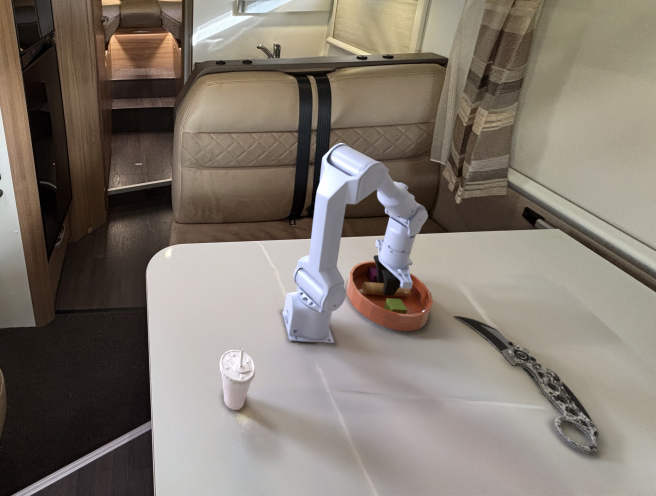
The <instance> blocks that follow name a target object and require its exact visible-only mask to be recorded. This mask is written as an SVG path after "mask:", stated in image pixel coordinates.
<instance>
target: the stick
mask: <svg viewBox="0 0 656 496" xmlns="http://www.w3.org/2000/svg"><path fill="white" fill-rule="evenodd" d="M383 286H384V283H372V282H363V284H362V289H363V292H364V294H368V295H384V293H383ZM384 296H389V295H384ZM393 296H400V297H409V296H410V289H403V288H401V287H400V288H399V289H398V290H397V291H396V293H395V294H394V295H393Z"/></svg>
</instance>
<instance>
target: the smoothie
mask: <svg viewBox="0 0 656 496" xmlns="http://www.w3.org/2000/svg"><path fill="white" fill-rule="evenodd" d="M219 371H220V373H221V380H222V391H223V401H224V404H225V406H226V407H228V409H230V410H232V411H239V410H242V408H243V407H244V404H245V401H246V398H247V395H248V392H249V389H250V385H251V383H252V381H253V380H254V379H255V377H256V376H255V375H256V365H255V362H254V360H253V359H252V357H251V356H250V355H249V354H247V353H246V352H245V349H244V348H243V347H241V348H240V350H239V349H229V350H227V351H226V352H224V353H223V354H222V355H221V357H220V361H219Z"/></svg>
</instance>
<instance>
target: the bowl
mask: <svg viewBox="0 0 656 496" xmlns="http://www.w3.org/2000/svg"><path fill="white" fill-rule="evenodd" d="M369 267H376V264H375V261H374V260H366V261H361V262H358V263H357V264H354V265H353V267H352V268H351V270H350V272H349V274H348V279H347V283H346V296H347V297H348V300H349V301H350V303H351V305H352V306H353V307H354V308H355V310H357V312H359V313H360V314H361V315H362V316H364V317H365V318H367V319H368V320H369V321H371V322H372V323H375V324H377V325H379V326H381V327H383V328H385V329H389V330H393V331H400V332H413V331H417V330H420V329H421V328H422V327H424V326H425V325H426V324H427V321H428V319H429V316H430V313H431V309H432V306H433V303H434V300H433V297H432V293H431V292H430V290H429V288H428V287H427V286H426V284H425V283H424V282H422V281H421V280H420V279H419V278H418V277H417V276H415V275H414V274H412V273H411V272H410V277H411V280H412V282H413V284H412V287H411V289H410V296H409V297H400V296H384V295H368V294H364V292H363V289H362V284H363V282H369V280H368V278H367V273H368V269H369ZM387 298H390V299H401V300H402V302H403V304H404V305H405V307H406V309H407V313H406V314H399V313H396V312H392V311H388V310H386V309H384V306H385V302H386V299H387Z"/></svg>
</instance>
